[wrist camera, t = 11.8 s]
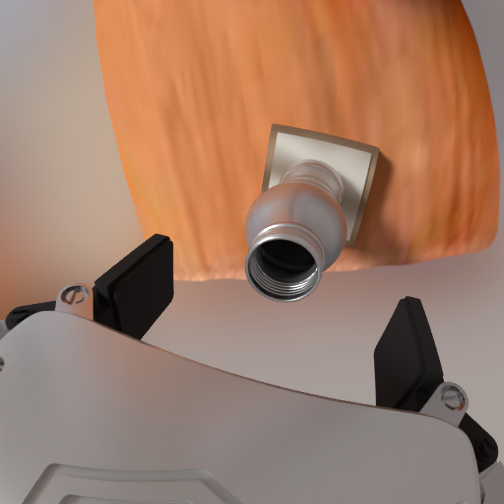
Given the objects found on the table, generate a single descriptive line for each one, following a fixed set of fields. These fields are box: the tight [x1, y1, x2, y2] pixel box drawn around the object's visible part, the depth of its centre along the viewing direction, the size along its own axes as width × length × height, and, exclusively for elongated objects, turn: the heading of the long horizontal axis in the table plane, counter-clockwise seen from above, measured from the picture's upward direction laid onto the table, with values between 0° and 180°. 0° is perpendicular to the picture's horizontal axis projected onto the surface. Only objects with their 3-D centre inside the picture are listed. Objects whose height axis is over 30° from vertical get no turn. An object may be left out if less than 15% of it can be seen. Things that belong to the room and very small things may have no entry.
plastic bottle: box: [245, 159, 347, 303], centre depth 22 cm, size 6×7×20 cm
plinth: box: [261, 124, 380, 248], centre depth 33 cm, size 12×12×3 cm
